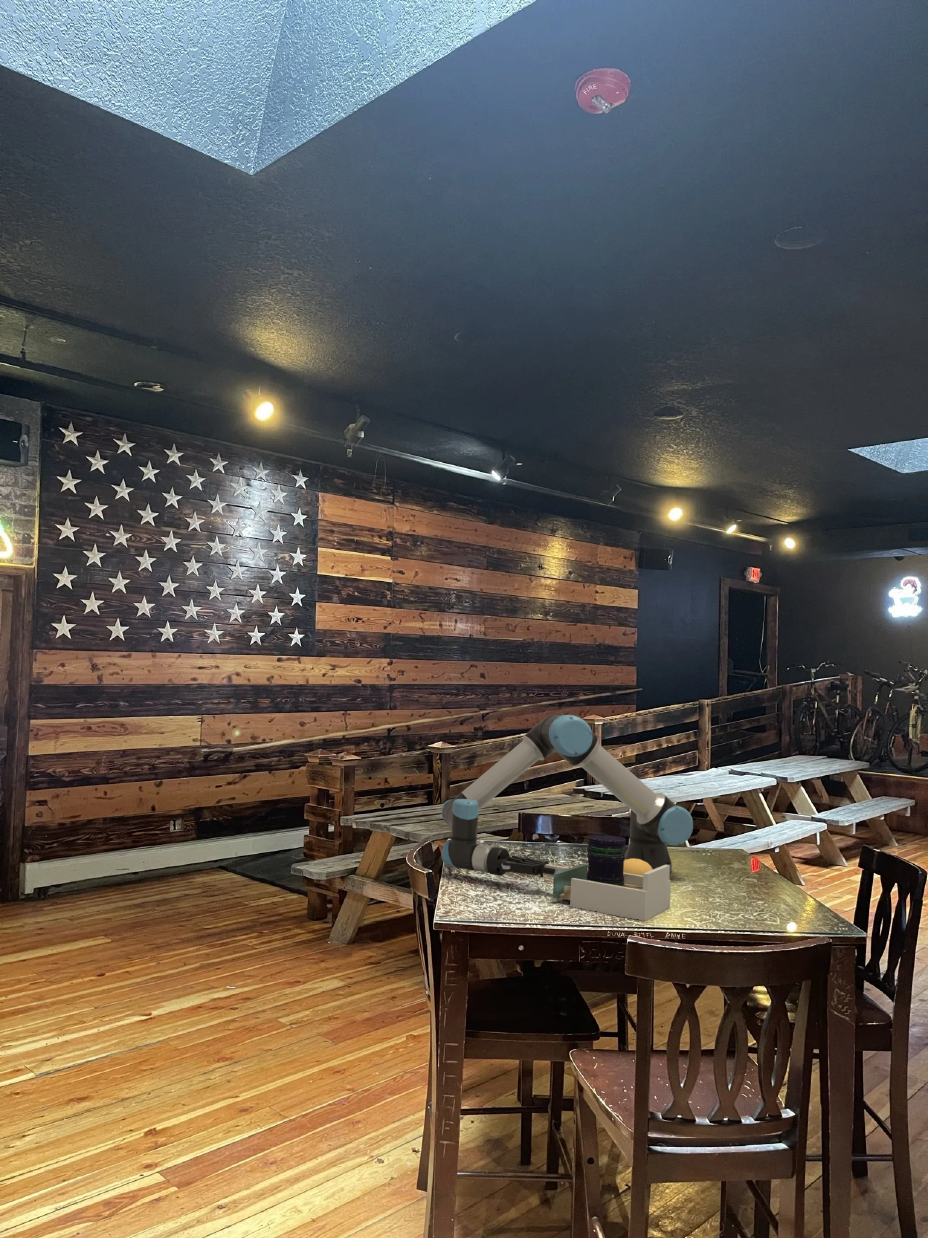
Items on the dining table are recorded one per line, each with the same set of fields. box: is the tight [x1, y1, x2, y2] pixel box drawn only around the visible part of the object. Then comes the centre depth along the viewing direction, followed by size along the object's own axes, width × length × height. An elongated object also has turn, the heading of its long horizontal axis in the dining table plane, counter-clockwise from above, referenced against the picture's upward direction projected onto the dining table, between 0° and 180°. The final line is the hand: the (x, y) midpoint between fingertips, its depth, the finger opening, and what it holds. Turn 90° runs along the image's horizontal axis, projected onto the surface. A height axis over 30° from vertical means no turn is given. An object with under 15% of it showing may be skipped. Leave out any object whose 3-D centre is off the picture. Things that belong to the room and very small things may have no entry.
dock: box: [569, 865, 672, 922], centre depth 225 cm, size 20×18×11 cm
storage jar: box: [587, 834, 627, 887], centre depth 227 cm, size 10×10×15 cm
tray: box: [552, 863, 643, 901], centre depth 227 cm, size 20×18×6 cm
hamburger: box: [623, 859, 653, 876], centre depth 246 cm, size 12×12×9 cm
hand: (567, 873), depth 233 cm, fingers closed
